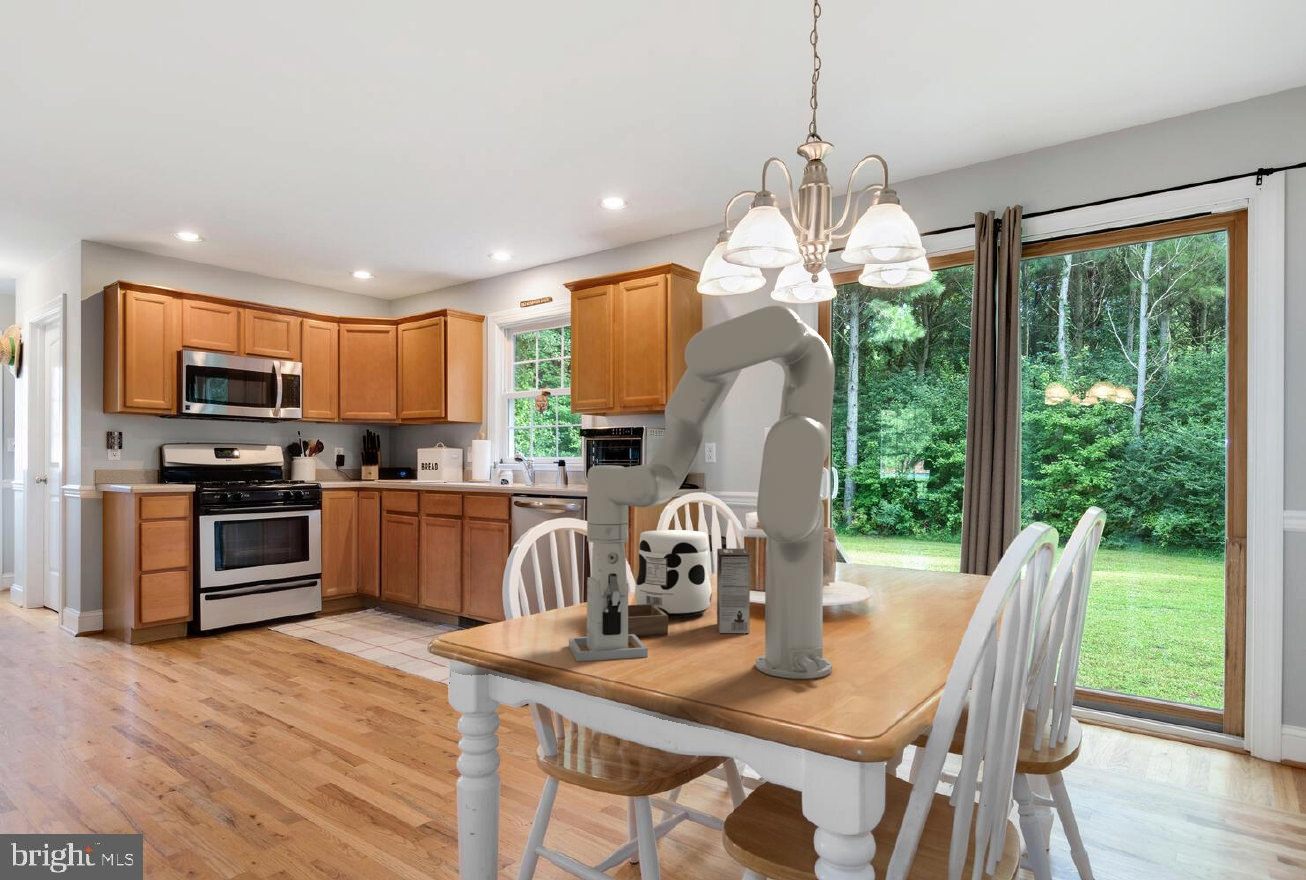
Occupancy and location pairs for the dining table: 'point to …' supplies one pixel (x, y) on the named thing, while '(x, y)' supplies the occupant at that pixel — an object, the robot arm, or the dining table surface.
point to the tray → (580, 655)
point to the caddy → (647, 621)
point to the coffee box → (733, 590)
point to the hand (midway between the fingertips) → (606, 628)
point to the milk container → (674, 572)
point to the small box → (596, 620)
